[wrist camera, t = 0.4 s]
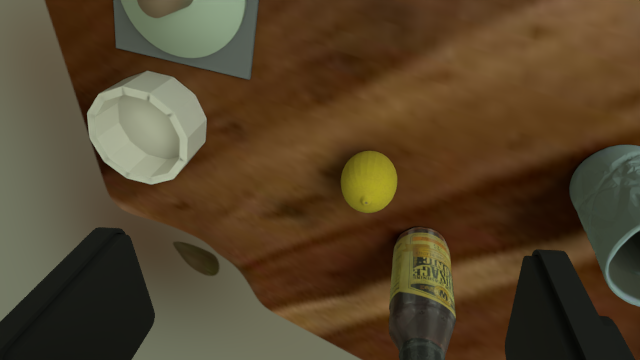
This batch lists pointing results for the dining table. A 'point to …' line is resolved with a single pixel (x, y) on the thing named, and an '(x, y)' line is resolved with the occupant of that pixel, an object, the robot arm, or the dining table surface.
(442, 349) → the sauce bottle
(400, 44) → the dining table surface
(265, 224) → the dining table surface
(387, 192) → the lemon
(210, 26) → the lid
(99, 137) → the bowl
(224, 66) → the mat
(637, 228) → the blue-green cup
